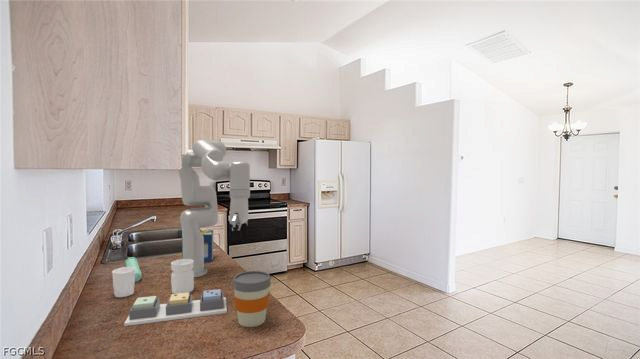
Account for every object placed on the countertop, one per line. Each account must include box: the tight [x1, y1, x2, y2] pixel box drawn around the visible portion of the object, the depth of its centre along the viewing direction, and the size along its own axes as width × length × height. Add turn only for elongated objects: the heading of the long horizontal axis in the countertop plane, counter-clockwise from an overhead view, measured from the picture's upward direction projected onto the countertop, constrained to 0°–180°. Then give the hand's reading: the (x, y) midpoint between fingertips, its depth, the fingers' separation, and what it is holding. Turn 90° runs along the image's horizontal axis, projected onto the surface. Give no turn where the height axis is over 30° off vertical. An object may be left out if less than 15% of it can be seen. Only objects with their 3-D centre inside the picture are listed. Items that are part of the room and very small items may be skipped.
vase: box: [170, 258, 195, 294], centre depth 133 cm, size 9×9×12 cm
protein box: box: [181, 229, 214, 263], centre depth 175 cm, size 10×15×16 cm
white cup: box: [111, 266, 136, 298], centre depth 128 cm, size 8×8×10 cm
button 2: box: [169, 292, 190, 306], centre depth 114 cm, size 6×6×3 cm
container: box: [124, 256, 143, 283], centre depth 151 cm, size 6×6×25 cm
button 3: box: [202, 288, 222, 302], centre depth 117 cm, size 6×6×3 cm
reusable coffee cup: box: [232, 270, 271, 328], centre depth 108 cm, size 13×13×15 cm
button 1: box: [132, 295, 157, 310], centre depth 110 cm, size 6×6×3 cm
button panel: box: [123, 291, 228, 327], centre depth 114 cm, size 12×32×4 cm, turn 108°
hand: (240, 238), depth 122 cm, fingers open, 9 cm apart
